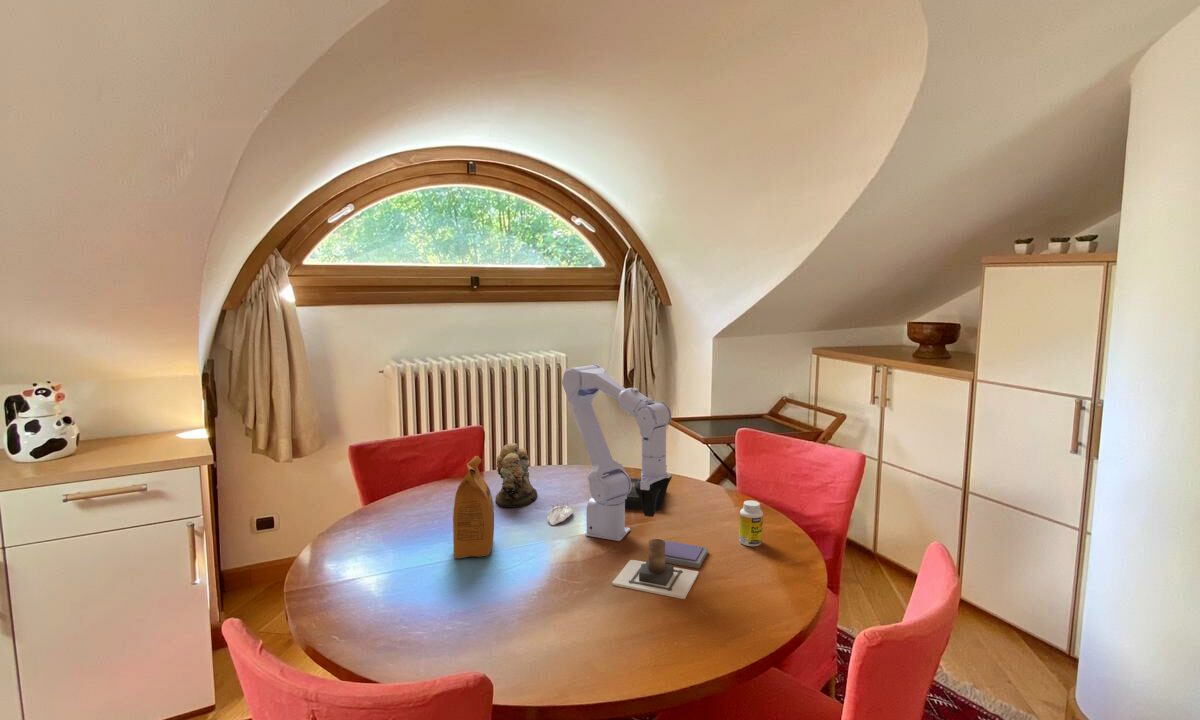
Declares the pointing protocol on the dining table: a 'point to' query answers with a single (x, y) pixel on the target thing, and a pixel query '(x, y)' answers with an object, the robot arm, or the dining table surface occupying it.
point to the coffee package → (473, 515)
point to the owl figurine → (514, 477)
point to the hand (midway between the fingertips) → (654, 510)
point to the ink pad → (684, 554)
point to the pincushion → (559, 514)
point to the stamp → (656, 565)
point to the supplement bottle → (751, 524)
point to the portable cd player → (635, 497)
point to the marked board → (674, 588)
